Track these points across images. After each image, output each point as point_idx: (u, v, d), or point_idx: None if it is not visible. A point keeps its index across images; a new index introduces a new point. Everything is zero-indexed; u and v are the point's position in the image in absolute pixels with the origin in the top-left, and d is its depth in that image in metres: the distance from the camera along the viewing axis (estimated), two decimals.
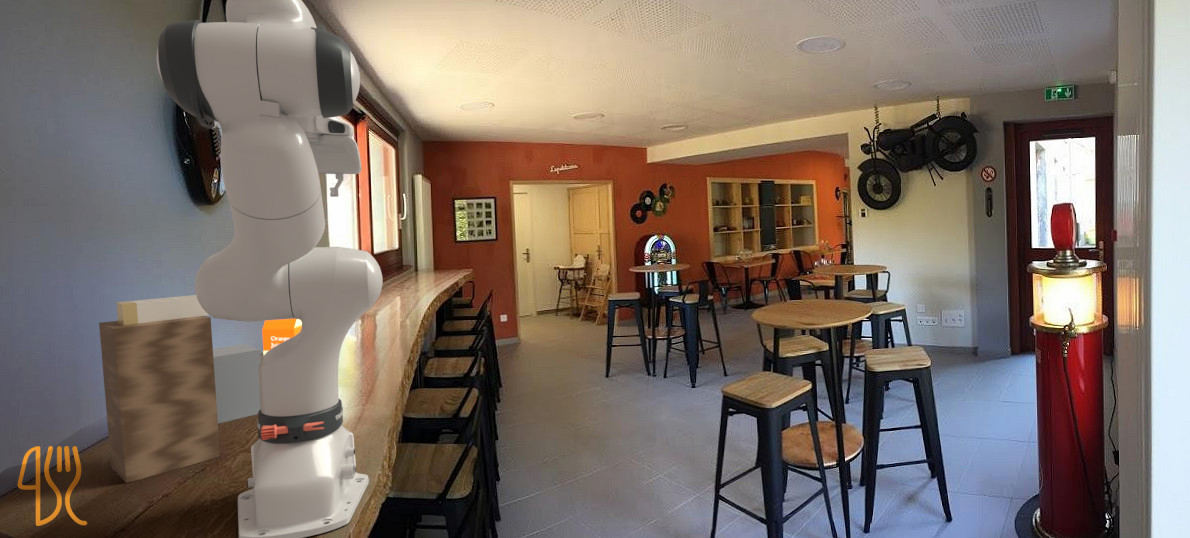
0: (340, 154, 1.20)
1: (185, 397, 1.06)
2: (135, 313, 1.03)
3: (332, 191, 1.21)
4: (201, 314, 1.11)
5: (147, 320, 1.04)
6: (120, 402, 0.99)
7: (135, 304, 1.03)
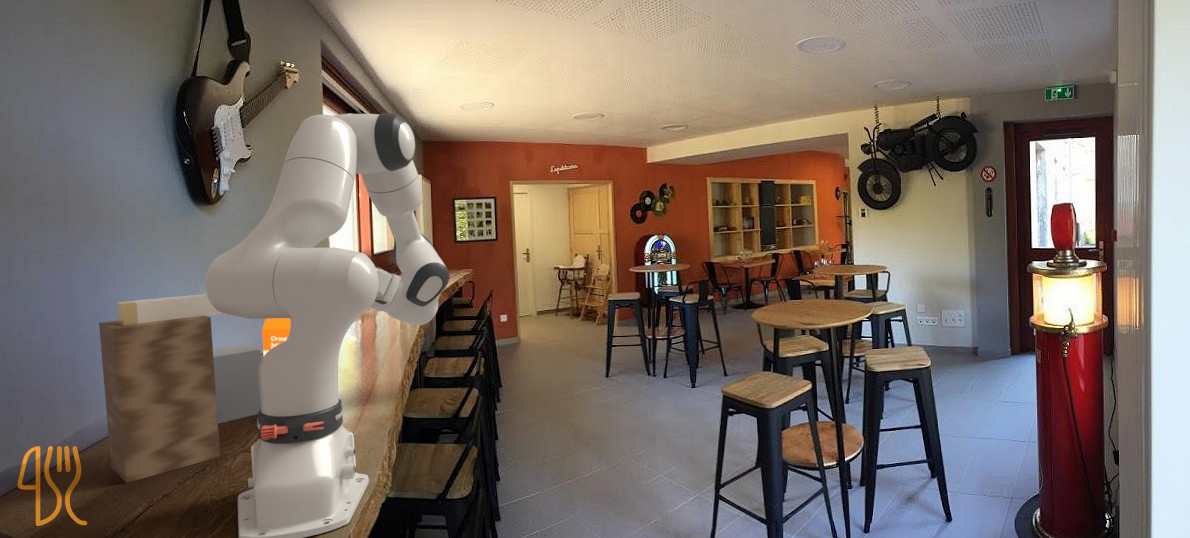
0: None
1: (185, 397, 1.06)
2: (135, 313, 1.03)
3: None
4: (201, 314, 1.11)
5: (147, 320, 1.04)
6: (120, 402, 0.99)
7: (135, 304, 1.03)
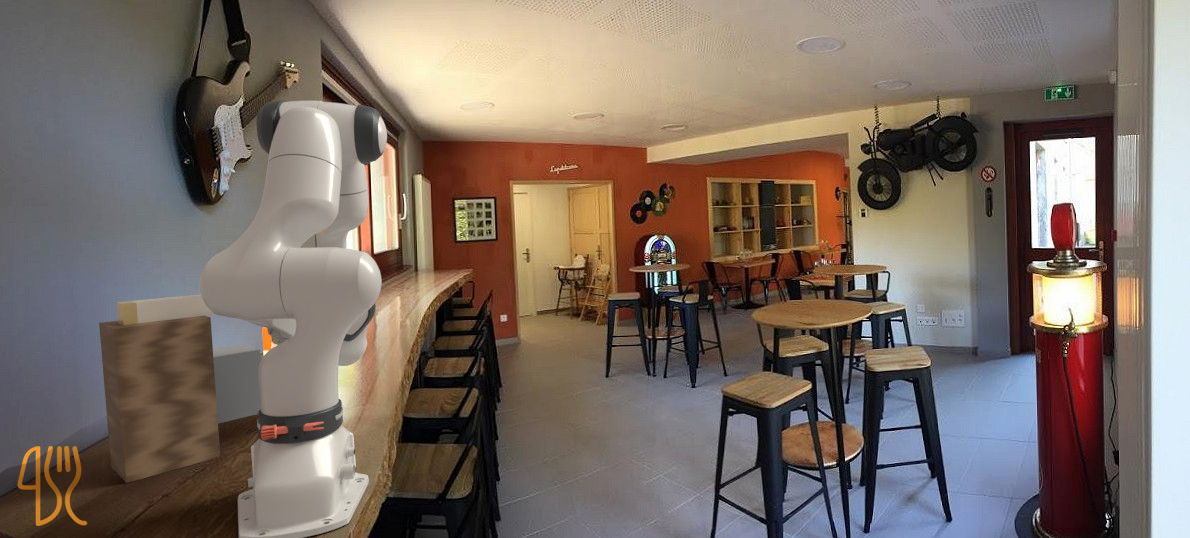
0: None
1: (185, 397, 1.06)
2: (135, 313, 1.03)
3: None
4: (201, 314, 1.11)
5: (147, 320, 1.04)
6: (120, 402, 0.99)
7: (135, 304, 1.03)
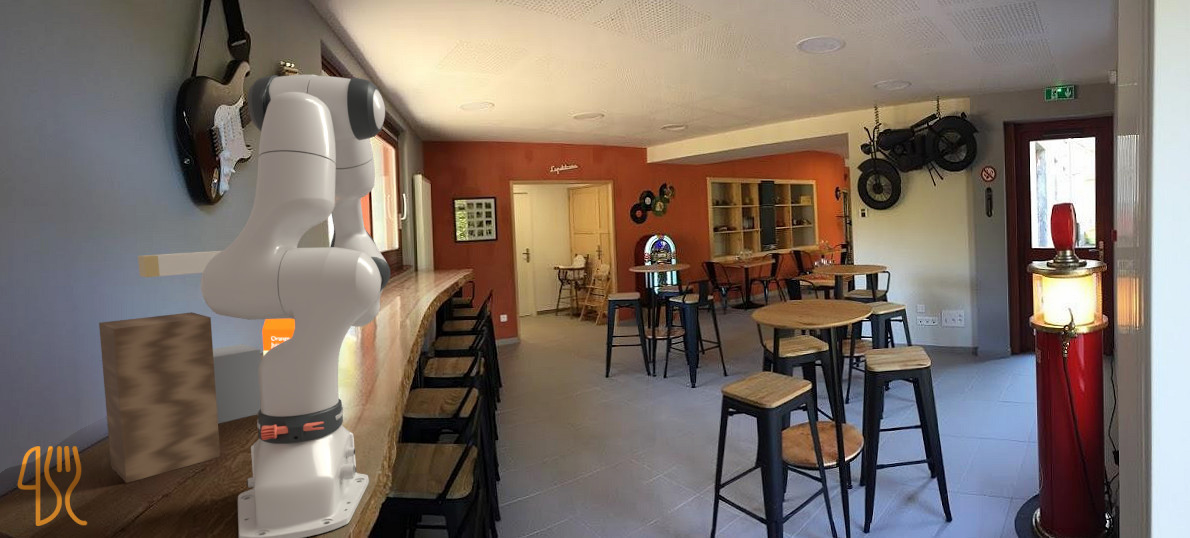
0: None
1: (185, 397, 1.06)
2: (156, 266, 1.05)
3: None
4: None
5: (168, 273, 1.06)
6: (120, 402, 0.99)
7: (156, 257, 1.05)
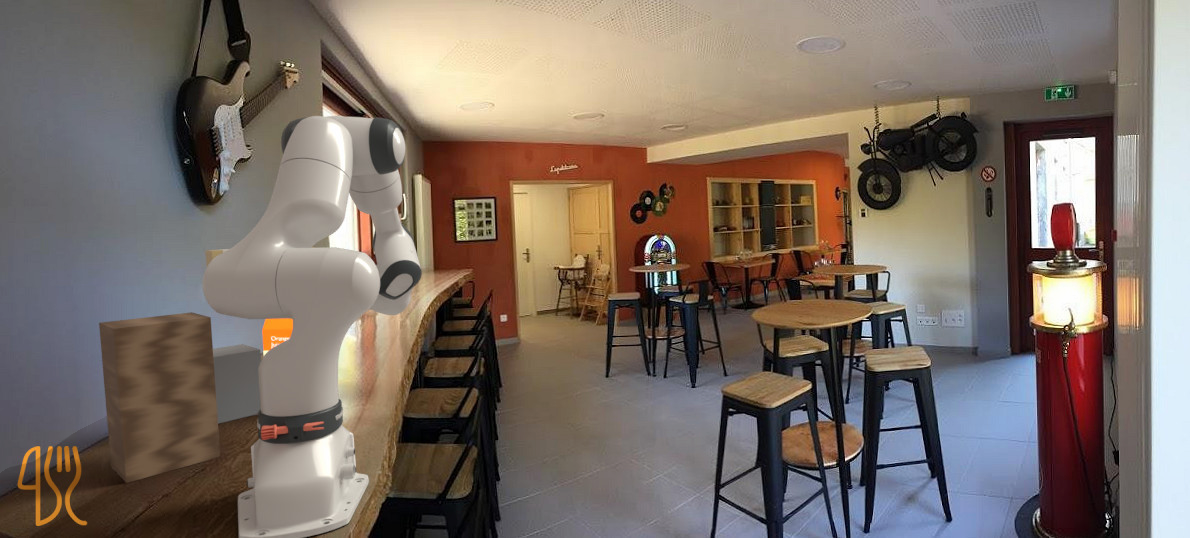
0: None
1: (185, 397, 1.06)
2: None
3: None
4: None
5: None
6: (120, 402, 0.99)
7: (222, 251, 1.20)
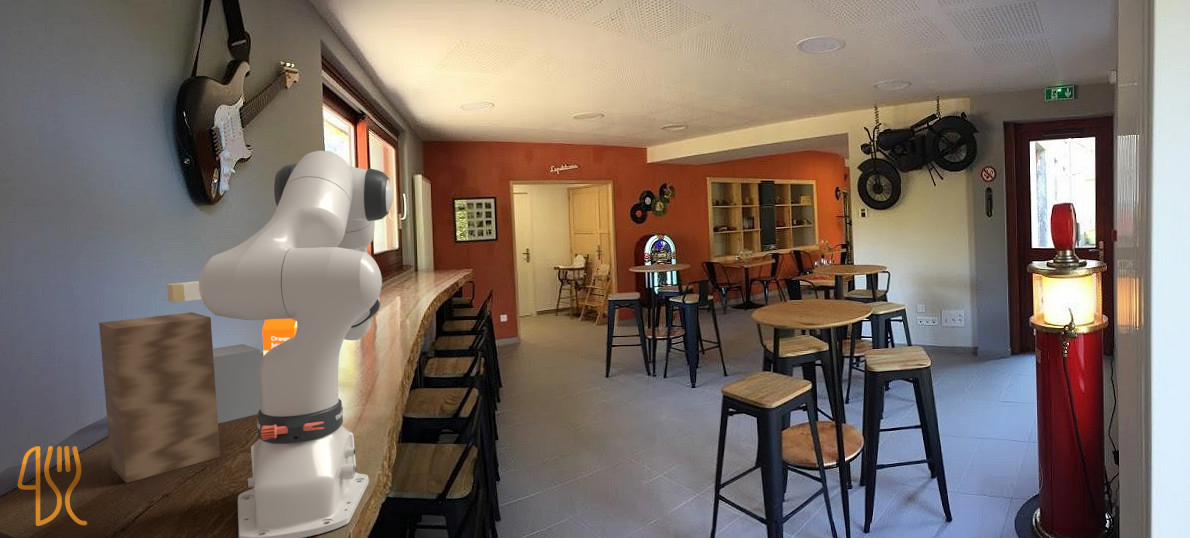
0: None
1: (185, 397, 1.06)
2: (182, 292, 1.26)
3: None
4: None
5: (192, 298, 1.28)
6: (120, 402, 0.99)
7: (182, 285, 1.26)
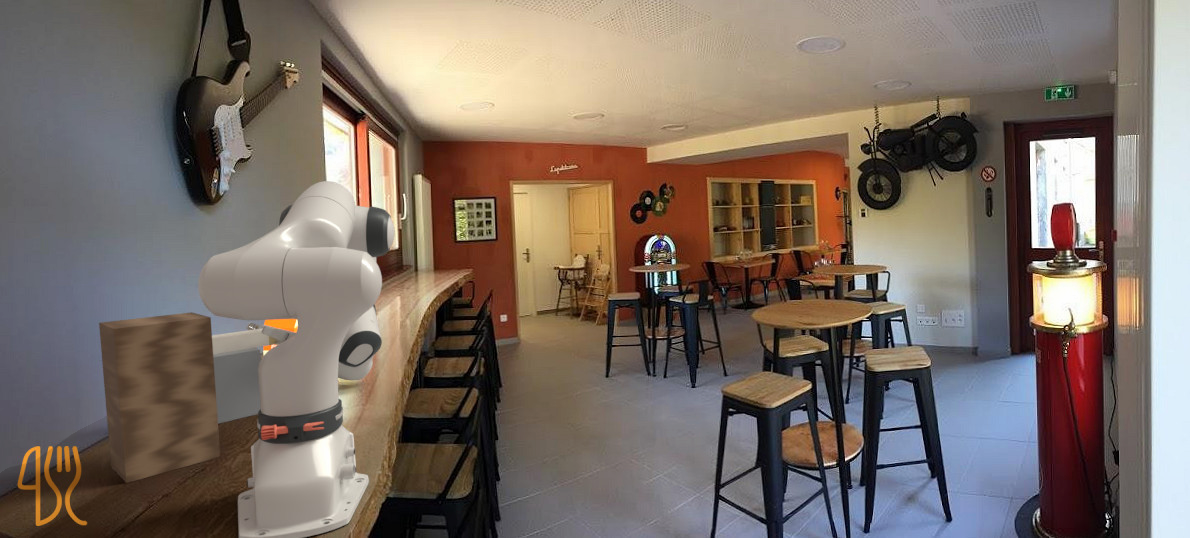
0: None
1: (185, 397, 1.06)
2: None
3: None
4: (238, 349, 1.35)
5: None
6: (120, 402, 0.99)
7: None
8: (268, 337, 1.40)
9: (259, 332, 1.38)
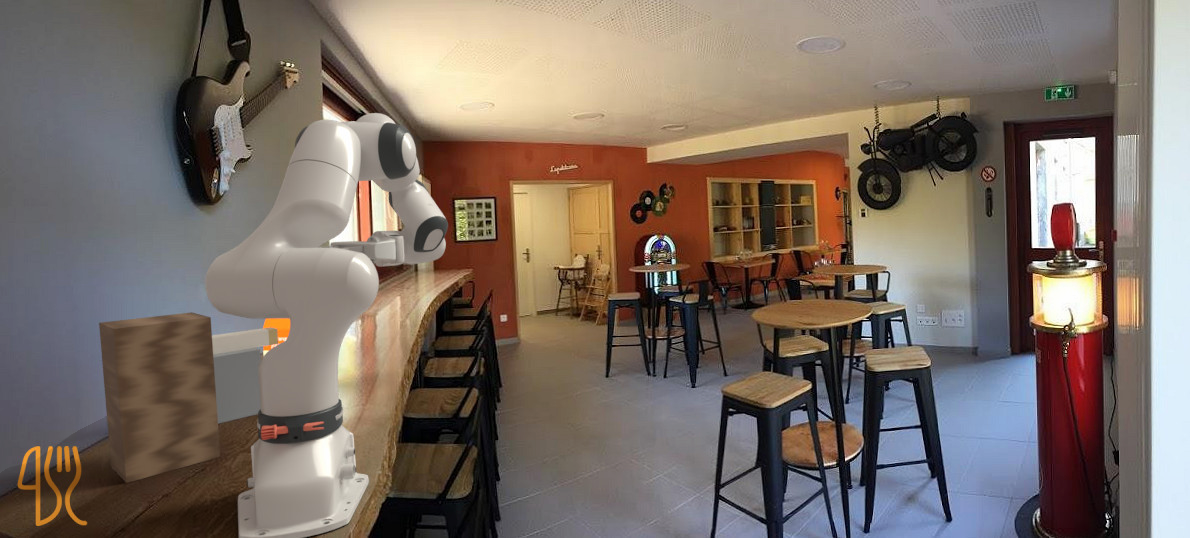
0: None
1: (185, 397, 1.06)
2: None
3: None
4: (238, 349, 1.35)
5: None
6: (120, 402, 0.99)
7: None
8: (268, 337, 1.40)
9: (259, 332, 1.38)
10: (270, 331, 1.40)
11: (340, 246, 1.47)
